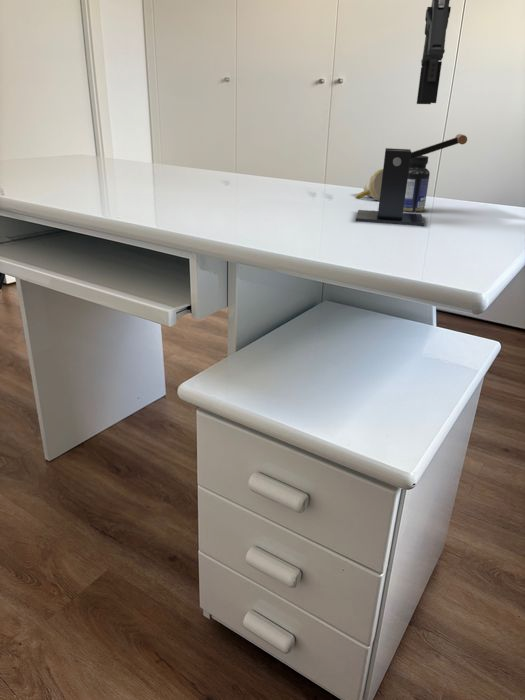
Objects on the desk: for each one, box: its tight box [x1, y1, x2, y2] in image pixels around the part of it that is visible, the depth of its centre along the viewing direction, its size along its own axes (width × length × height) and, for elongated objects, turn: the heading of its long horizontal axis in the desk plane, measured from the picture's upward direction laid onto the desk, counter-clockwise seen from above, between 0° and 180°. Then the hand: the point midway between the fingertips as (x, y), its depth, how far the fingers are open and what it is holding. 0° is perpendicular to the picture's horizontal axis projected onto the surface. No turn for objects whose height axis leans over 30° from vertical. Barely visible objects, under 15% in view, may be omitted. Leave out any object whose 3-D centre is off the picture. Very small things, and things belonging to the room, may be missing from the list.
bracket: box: [355, 147, 425, 227], centre depth 97 cm, size 12×9×13 cm
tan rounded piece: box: [354, 168, 383, 202], centre depth 123 cm, size 8×10×10 cm
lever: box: [411, 133, 468, 159], centre depth 94 cm, size 13×5×2 cm, turn 79°
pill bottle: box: [403, 155, 431, 214], centre depth 108 cm, size 6×6×11 cm
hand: (425, 103), depth 101 cm, fingers open, 13 cm apart
